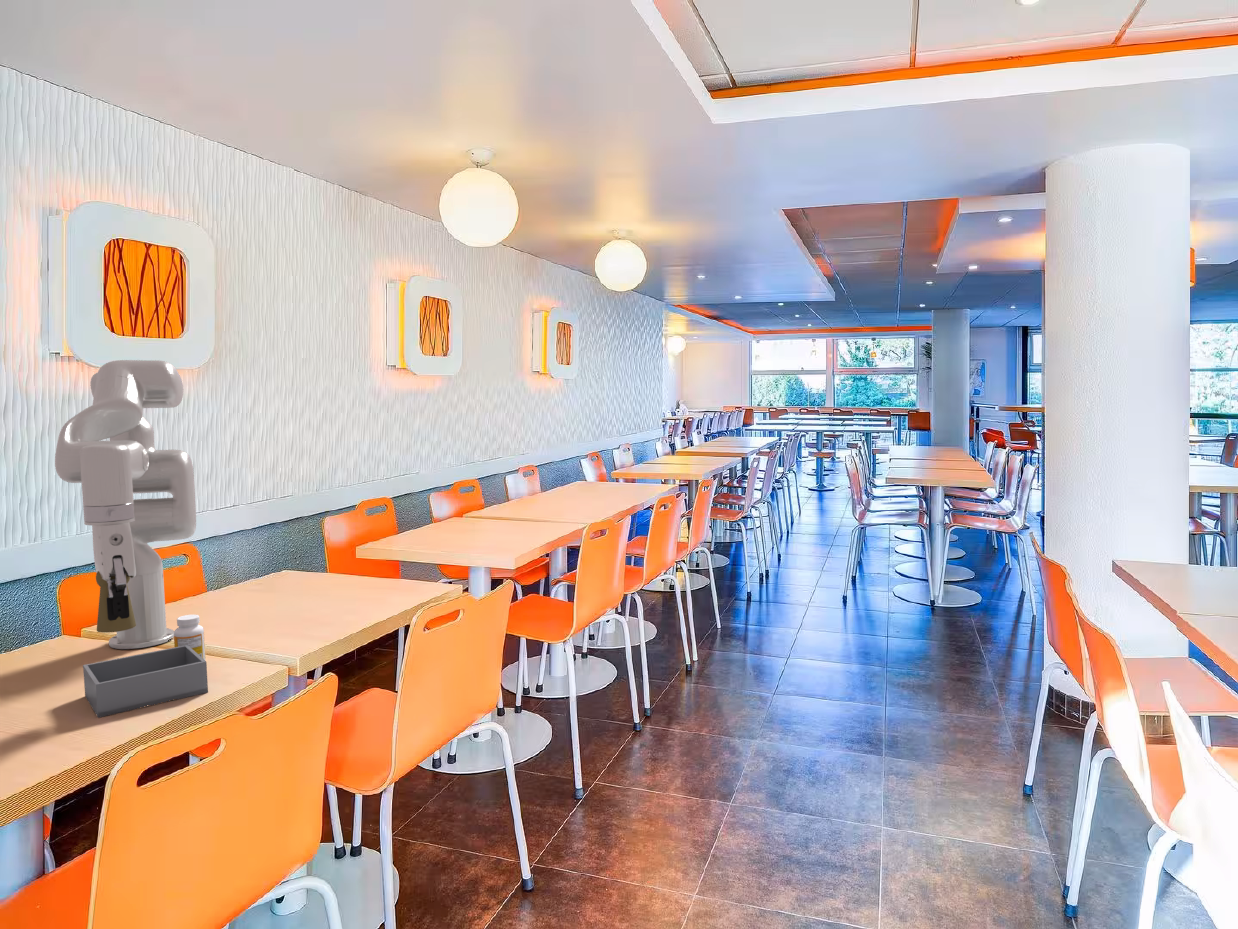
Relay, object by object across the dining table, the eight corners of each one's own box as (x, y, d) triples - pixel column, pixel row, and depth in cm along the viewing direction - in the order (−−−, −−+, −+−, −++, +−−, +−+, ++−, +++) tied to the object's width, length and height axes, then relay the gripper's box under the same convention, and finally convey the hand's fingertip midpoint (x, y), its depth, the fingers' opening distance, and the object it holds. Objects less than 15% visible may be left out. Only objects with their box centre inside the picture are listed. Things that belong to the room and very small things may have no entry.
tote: (85, 696, 147) (82, 665, 146) (189, 673, 158) (187, 645, 157) (98, 717, 137) (95, 684, 136) (208, 692, 148) (206, 661, 148)
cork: (87, 631, 141) (83, 569, 140) (115, 622, 147) (111, 562, 146) (117, 633, 140) (113, 571, 139) (144, 623, 146) (140, 563, 145)
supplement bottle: (182, 660, 166) (180, 613, 166) (210, 659, 167) (207, 613, 166) (170, 669, 161) (167, 621, 160) (198, 667, 162) (196, 620, 161)
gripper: (144, 517, 138) (150, 621, 140) (124, 507, 151) (130, 603, 152) (92, 521, 133) (99, 630, 135) (76, 511, 146) (83, 610, 147)
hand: (116, 615), depth 143 cm, fingers closed on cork, 4 cm apart
